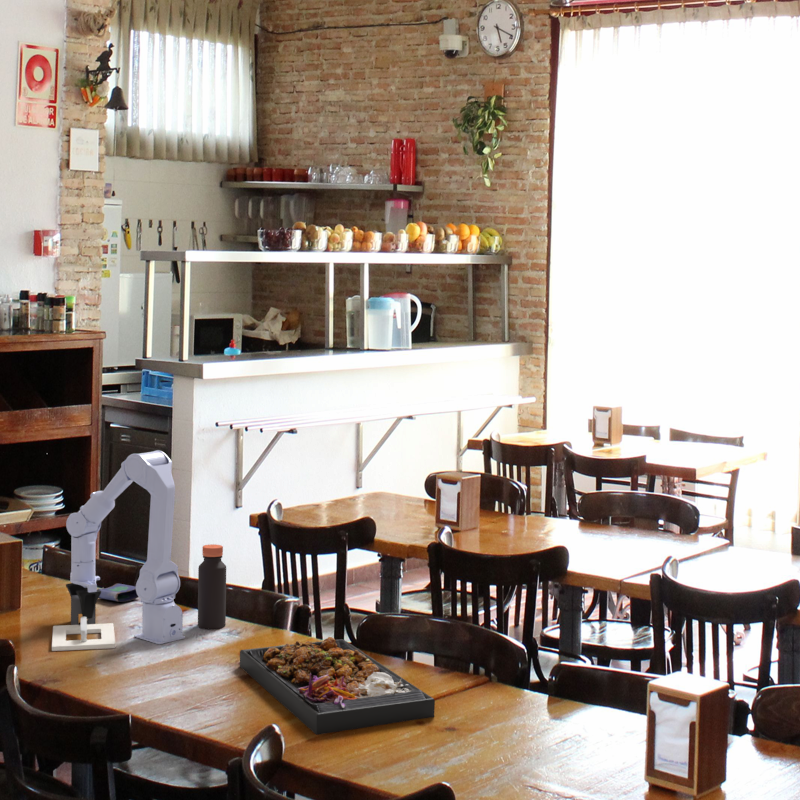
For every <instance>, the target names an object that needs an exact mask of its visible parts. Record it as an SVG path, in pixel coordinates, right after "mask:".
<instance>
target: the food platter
mask: <svg viewBox="0 0 800 800" xmlns="http://www.w3.org/2000/svg"><path fill="white" fill-rule="evenodd" d="M239 667H240V668H241V669H242V670H243V671H244V672H245V673H246V674H247V675H249V676H250V677H251V679H253V680H254V681H255V682H257V683H258V685H260V686H261V687H262V688H263V689H264V690H266V691H267V692H268V694H269V695H271V696H272V697H273V698H274V699H275V700H276V701H278V702H279V703H280V704H281V705H282V706H284V707H285V709H287V710H288V711H289V712H290V713H291V714H292V715H294V717H295V718H297V719H298V720H299V721H300V722H301V723H303V724H304V726H306V727H307V728H308V729H309V731H310V730H311V731H312V733H313V734H315V735H317V736H318V735H324V734H330V733H339V732H344V731H350V730H351V731H352V730H358V729H363V728H369V727H370V728H371V727H377V726H378V727H379V726H383V725H389V724H397V723H403V722H409V721H415V720H422V719H428V718H435V711H436V709H435V708H436V707H435V705H436V703H435V702H436V701H435V698H433V697H432V696H430V695H429V694H427V693H426V692H424V691H423V690H421V689H419V687H416V686H415V685H414V684H412V683H411V682H409V681H408V680H406V679H404V678H403V677H401V676H400V675H398V674H397V673H395V672H394V671H392V670H391V669H390V668H388V667H386V666H385V665H383V664H382V663H381V662H378V661H377V660H375V659H374V658H373V657H372V656H369V655H368V654H366V653H365V652H363V651H362V650H361V649H359V648H357V647H356V646H354V645H353V644H351V643H349V642H348V641H347V640H345V639H342V638H341V639H335V638H334V637H333V636H332V637H331V636H328V637H327V638H324V640H322V641H314V642H313V641H306V642H300V641H299V640H297V641H295V643H294V644H288V643H286V644H284V645H278V646H276V645H275V646H268V647H257V648H248V649H247V648H246V649H240V651H239Z"/></svg>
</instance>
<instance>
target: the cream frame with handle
mask: <svg viewBox="0 0 800 800" xmlns="http://www.w3.org/2000/svg"><path fill="white" fill-rule="evenodd" d="M88 634H100V638H94V639H93V638H92V639H88V638H87V637H88ZM67 635H80V639H73V640H71V639H70V640H67ZM115 635H116V634H115V628H114V623H113V622H112V623H111V622H110V623H95V624H88V619H87V617H85V616H81V617H80V624H79V625H71V624H67V625H66V624H65V625H53V626H52V639H51V651H52V652H56V651H57V652H60V651H62V652H63V651H79V650H100V649H102V650H105V649H116V646H117V645H116V636H115Z"/></svg>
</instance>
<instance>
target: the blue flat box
mask: <svg viewBox="0 0 800 800" xmlns="http://www.w3.org/2000/svg"><path fill="white" fill-rule="evenodd" d="M97 590H101V594H100V596H99V598H98V599H102V600H107V601H113V602H118V603H119V602H120V603H121V602H130V601H133V600H134V601H135V600H137V599H138V598H139V597H138V595H137V593H136V585H129V584H124V583H123V584H122V583H114V584H113V585H111V586H109V587H106V588H104V586H103V587H102V588H97Z"/></svg>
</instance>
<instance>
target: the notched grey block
mask: <svg viewBox="0 0 800 800" xmlns="http://www.w3.org/2000/svg"><path fill="white" fill-rule="evenodd" d="M96 605H97V604H96ZM96 605H95V609H94V613H93V617H92V618H90V619H87V624H97V623H96V621H97V620H96V617H97V616H96V613H97V611H96V607H97V606H96ZM79 615H82V610H81V603H80V600H79V597H78V595H71V596H70V625H80V624H79V623H80V622H79Z"/></svg>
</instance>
